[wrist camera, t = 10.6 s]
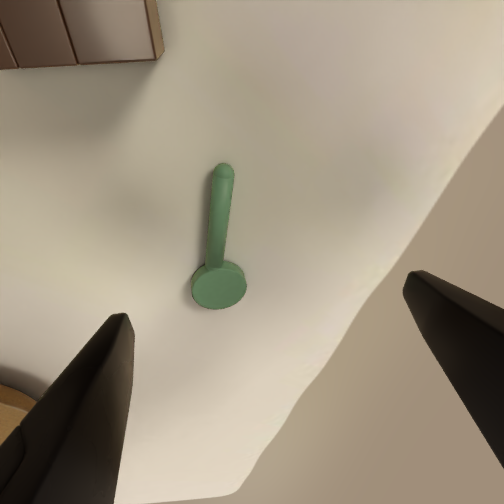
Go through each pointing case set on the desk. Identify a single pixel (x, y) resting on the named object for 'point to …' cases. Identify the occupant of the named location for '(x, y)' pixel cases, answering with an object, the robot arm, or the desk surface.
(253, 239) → the desk surface
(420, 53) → the desk surface
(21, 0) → the holder
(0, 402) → the plant saucer
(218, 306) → the spoon
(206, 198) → the desk surface
